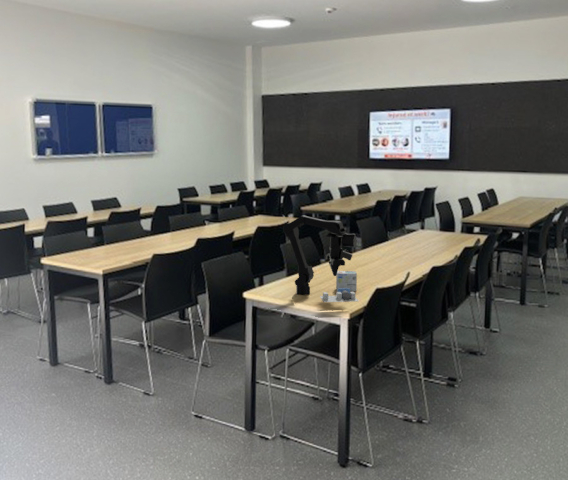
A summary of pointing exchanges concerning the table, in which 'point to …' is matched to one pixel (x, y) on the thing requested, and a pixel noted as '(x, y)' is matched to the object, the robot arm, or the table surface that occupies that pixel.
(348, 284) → the light bulb box
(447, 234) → the table surface
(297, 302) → the table surface
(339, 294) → the white base plate
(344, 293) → the dark gray cylinder
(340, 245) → the robot arm
